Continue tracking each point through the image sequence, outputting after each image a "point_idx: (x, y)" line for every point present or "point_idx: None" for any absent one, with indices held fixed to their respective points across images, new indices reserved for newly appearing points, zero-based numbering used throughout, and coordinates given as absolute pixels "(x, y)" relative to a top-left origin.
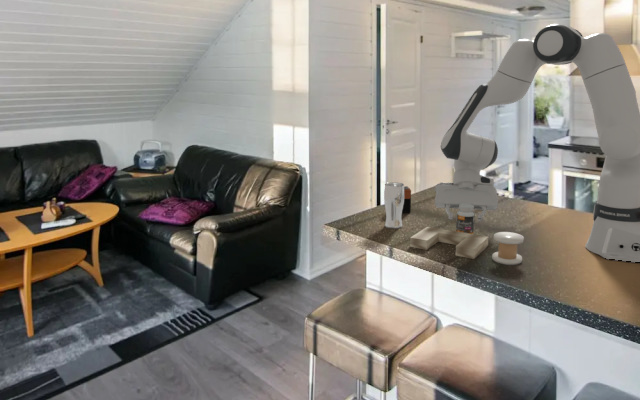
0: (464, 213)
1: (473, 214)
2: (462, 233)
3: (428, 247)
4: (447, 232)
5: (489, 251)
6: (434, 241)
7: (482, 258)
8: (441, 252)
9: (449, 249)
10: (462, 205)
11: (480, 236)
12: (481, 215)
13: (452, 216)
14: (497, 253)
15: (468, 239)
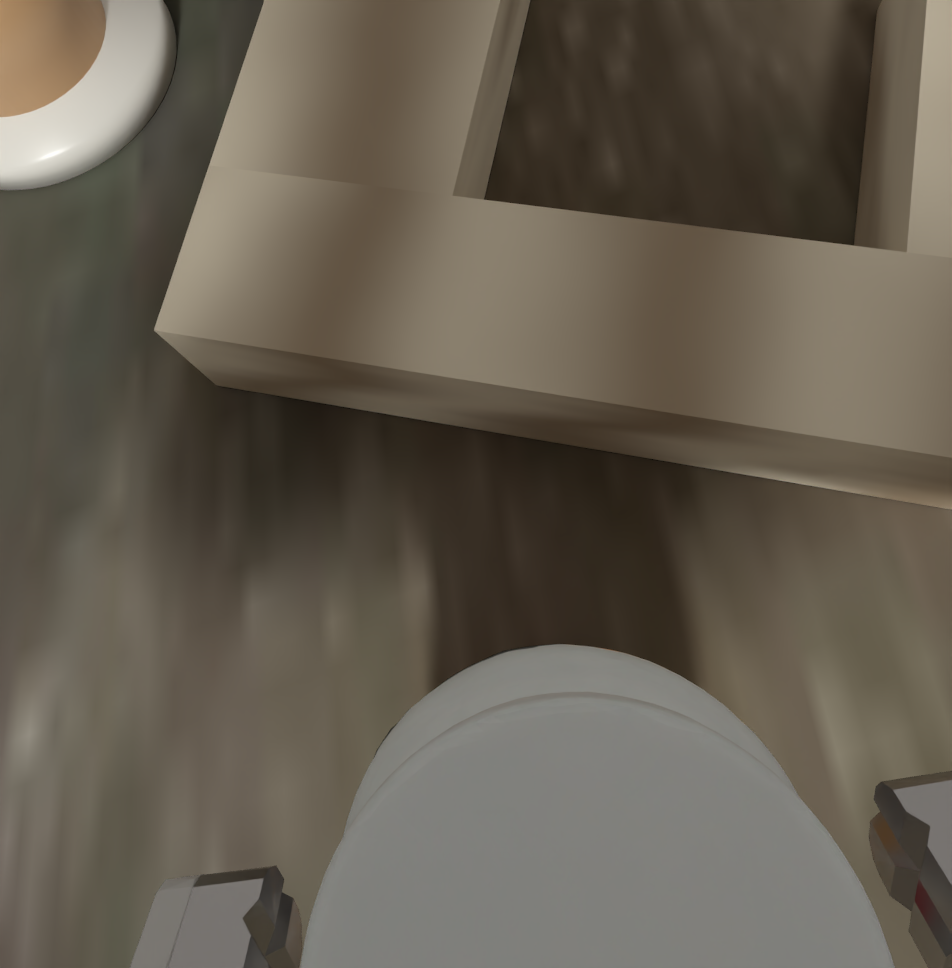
0: (585, 686)
1: (355, 808)
2: (535, 344)
3: (879, 40)
4: (772, 305)
5: None
6: (874, 183)
7: None
8: (695, 7)
9: (634, 119)
10: (737, 928)
11: (264, 301)
12: (171, 953)
13: (898, 785)
14: (106, 75)
15: (415, 126)
